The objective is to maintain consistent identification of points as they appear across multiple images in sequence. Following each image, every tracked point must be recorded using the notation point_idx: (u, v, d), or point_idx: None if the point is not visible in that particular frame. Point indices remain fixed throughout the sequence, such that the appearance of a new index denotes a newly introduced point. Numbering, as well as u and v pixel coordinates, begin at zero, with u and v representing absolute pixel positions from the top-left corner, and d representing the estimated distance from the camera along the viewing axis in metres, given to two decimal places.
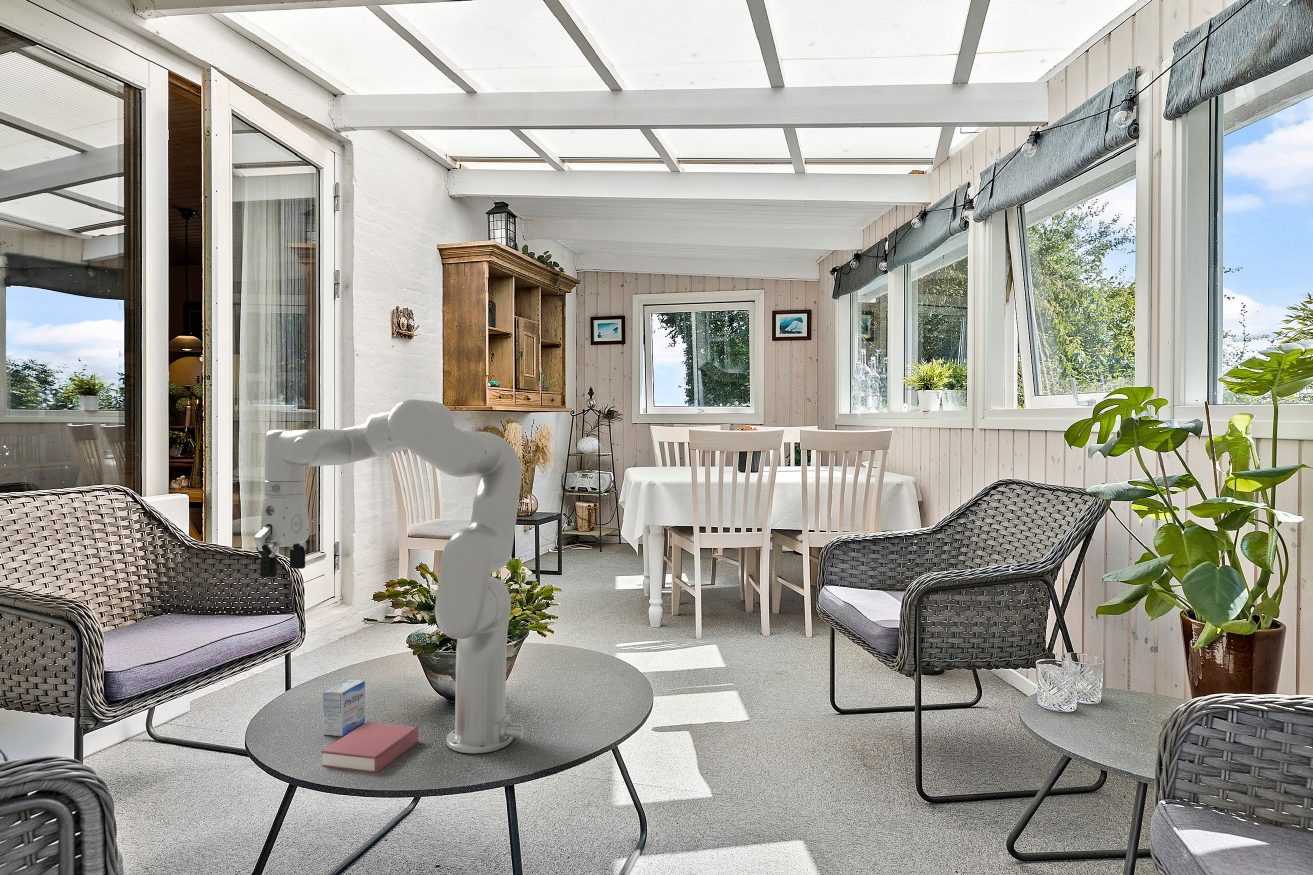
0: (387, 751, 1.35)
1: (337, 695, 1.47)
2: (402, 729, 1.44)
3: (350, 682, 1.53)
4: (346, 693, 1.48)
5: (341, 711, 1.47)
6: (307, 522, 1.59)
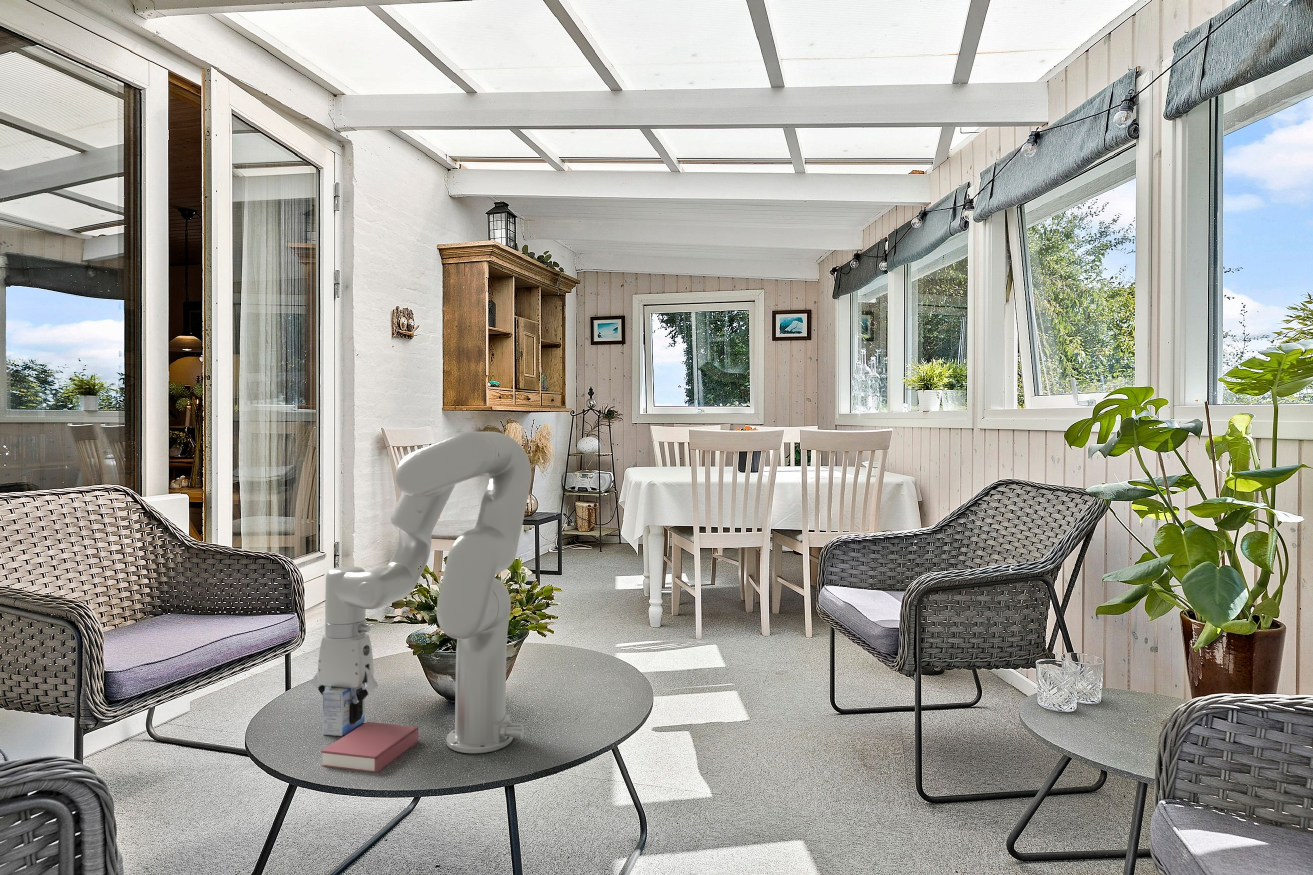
0: (387, 751, 1.35)
1: (337, 695, 1.47)
2: (402, 729, 1.44)
3: None
4: (346, 693, 1.48)
5: (341, 711, 1.47)
6: None
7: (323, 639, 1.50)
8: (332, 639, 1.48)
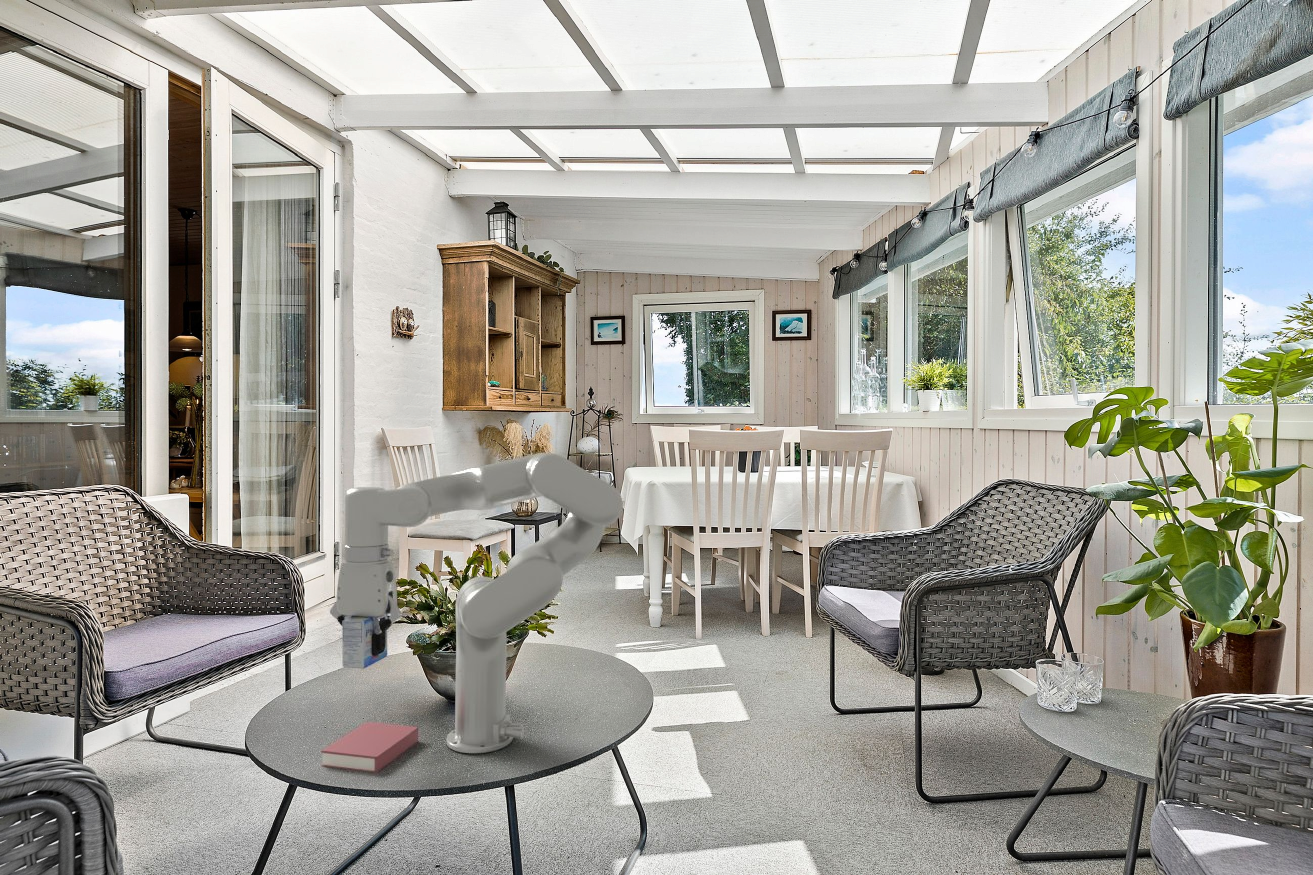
0: (387, 751, 1.35)
1: (358, 623, 1.35)
2: (402, 729, 1.44)
3: None
4: (368, 622, 1.36)
5: (363, 641, 1.35)
6: None
7: (342, 564, 1.38)
8: (352, 563, 1.35)
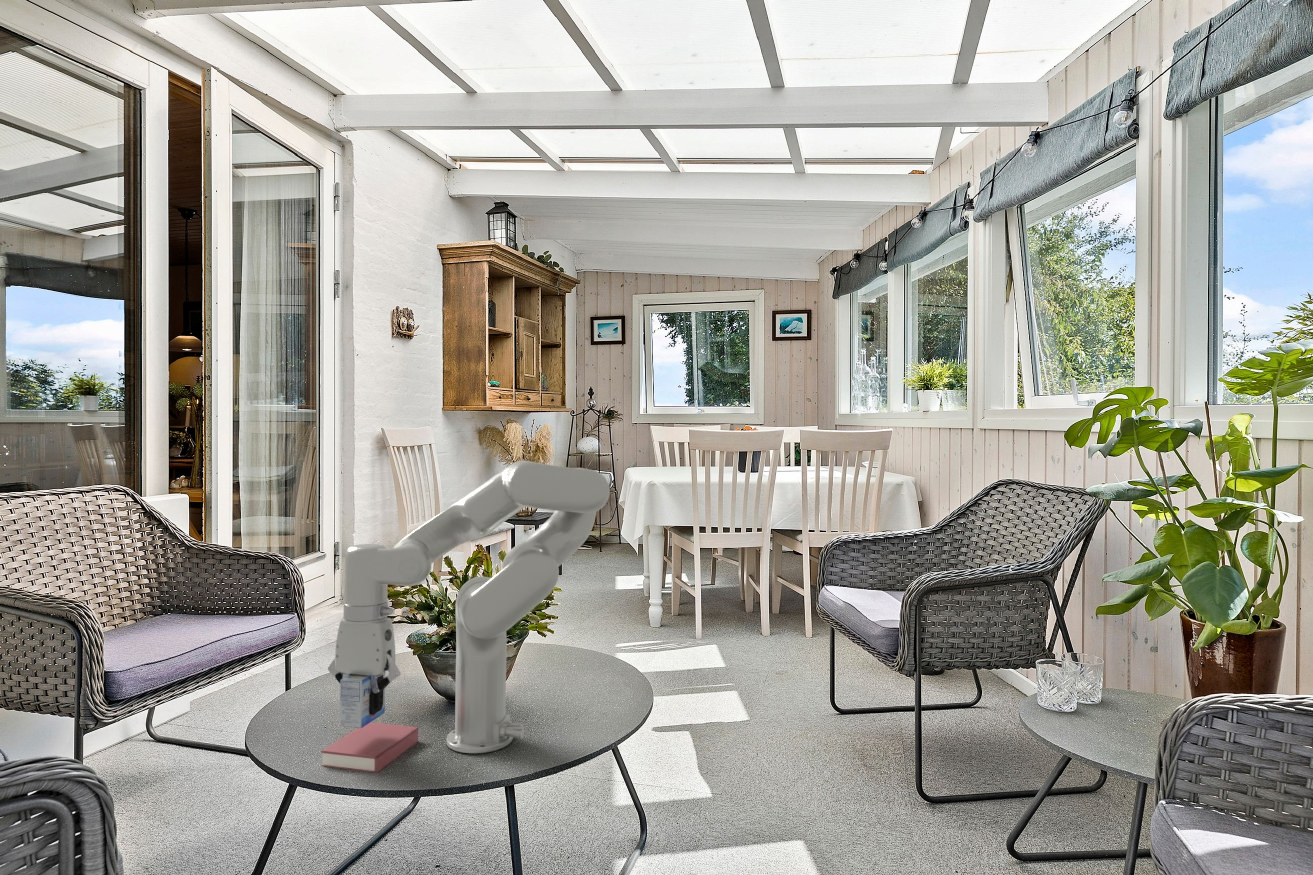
0: (387, 751, 1.35)
1: (356, 683, 1.35)
2: (402, 729, 1.44)
3: None
4: (366, 681, 1.36)
5: (360, 701, 1.35)
6: None
7: (341, 622, 1.38)
8: (351, 622, 1.35)
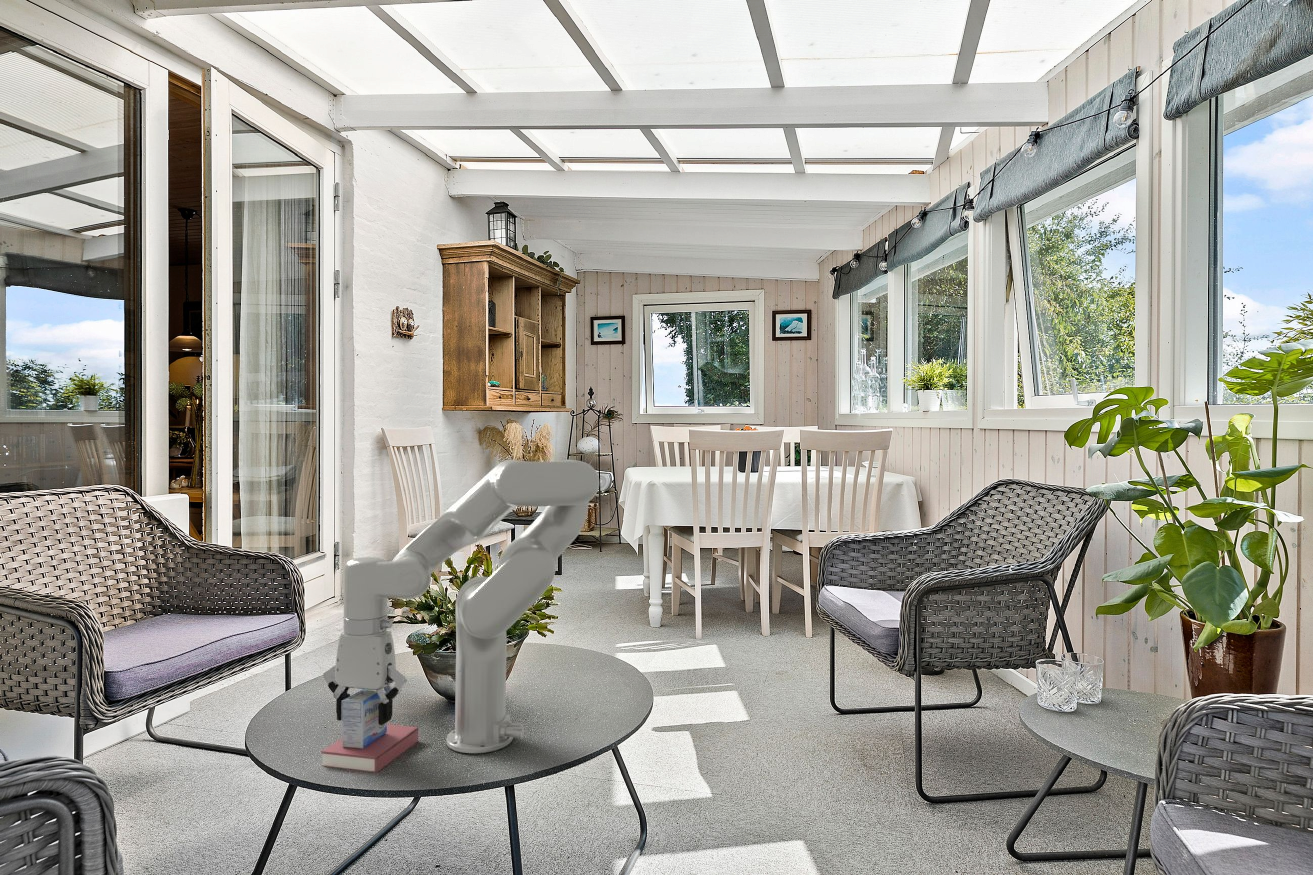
0: (387, 751, 1.35)
1: (357, 703, 1.35)
2: (402, 729, 1.44)
3: (370, 690, 1.41)
4: (367, 702, 1.36)
5: (362, 721, 1.35)
6: None
7: (341, 636, 1.38)
8: (351, 636, 1.35)
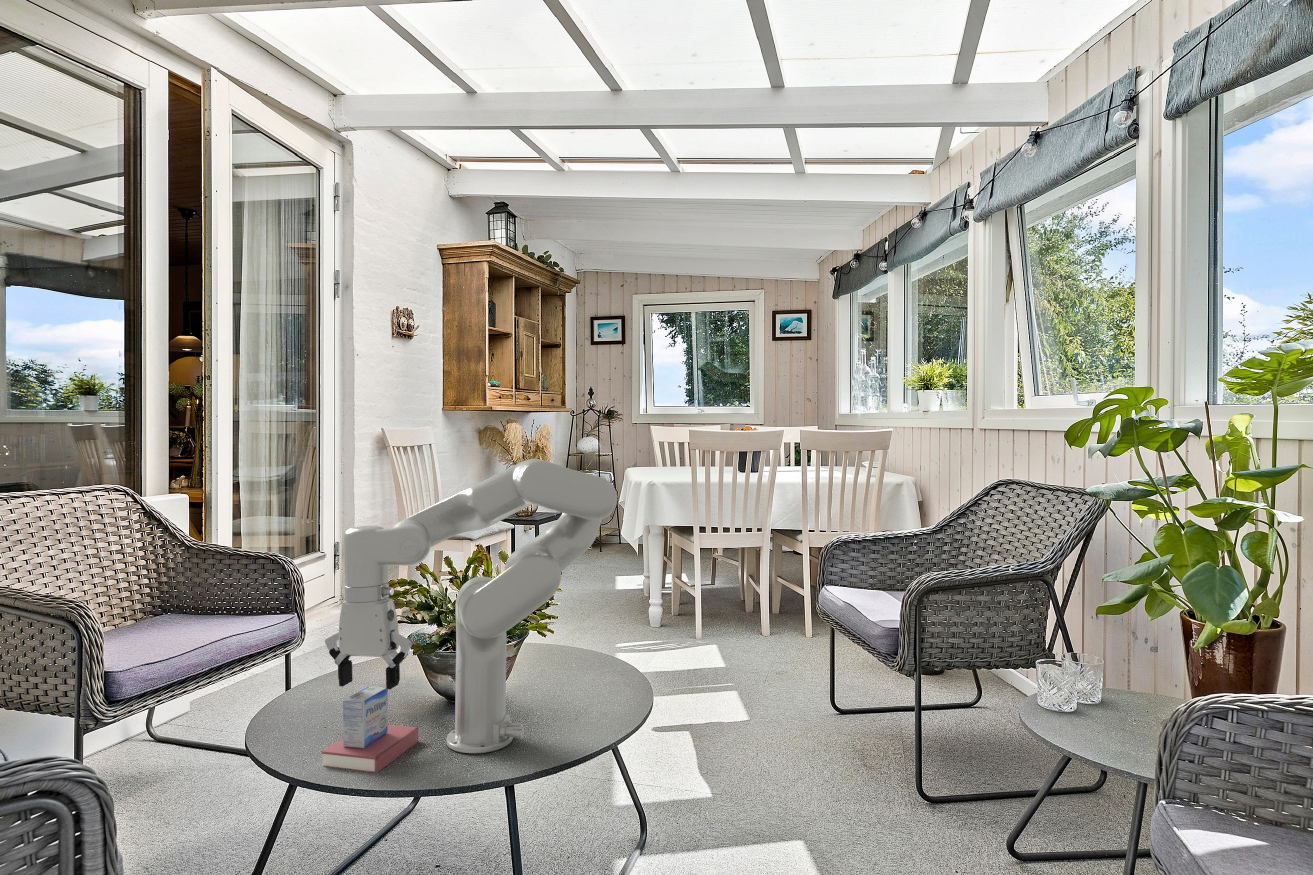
0: (387, 751, 1.35)
1: (358, 703, 1.35)
2: (402, 730, 1.44)
3: (371, 690, 1.41)
4: (368, 701, 1.36)
5: (363, 721, 1.35)
6: None
7: (343, 605, 1.38)
8: (353, 604, 1.35)
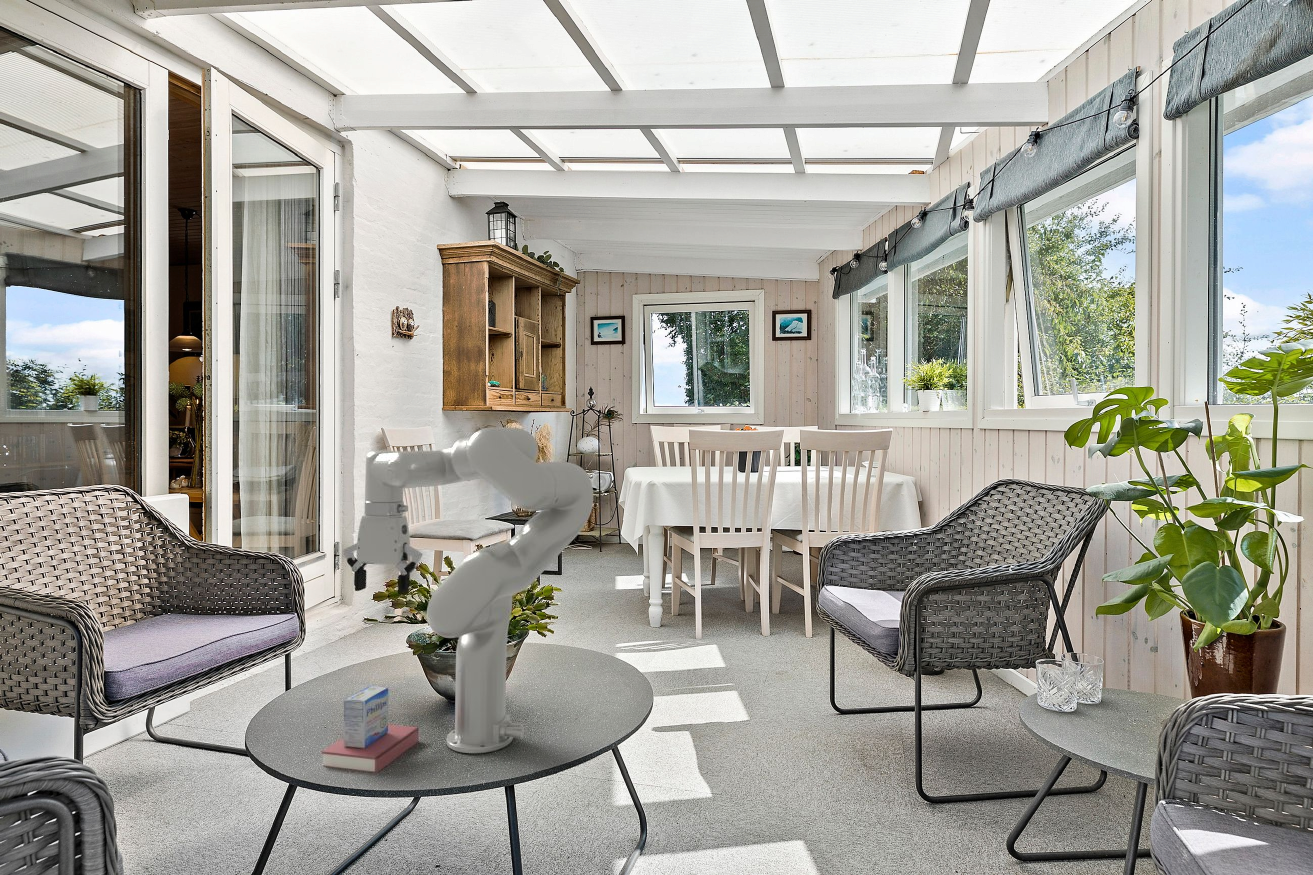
0: (387, 751, 1.35)
1: (359, 703, 1.35)
2: (402, 730, 1.44)
3: (372, 689, 1.41)
4: (369, 701, 1.36)
5: (363, 721, 1.35)
6: None
7: (363, 518, 1.56)
8: (372, 516, 1.54)
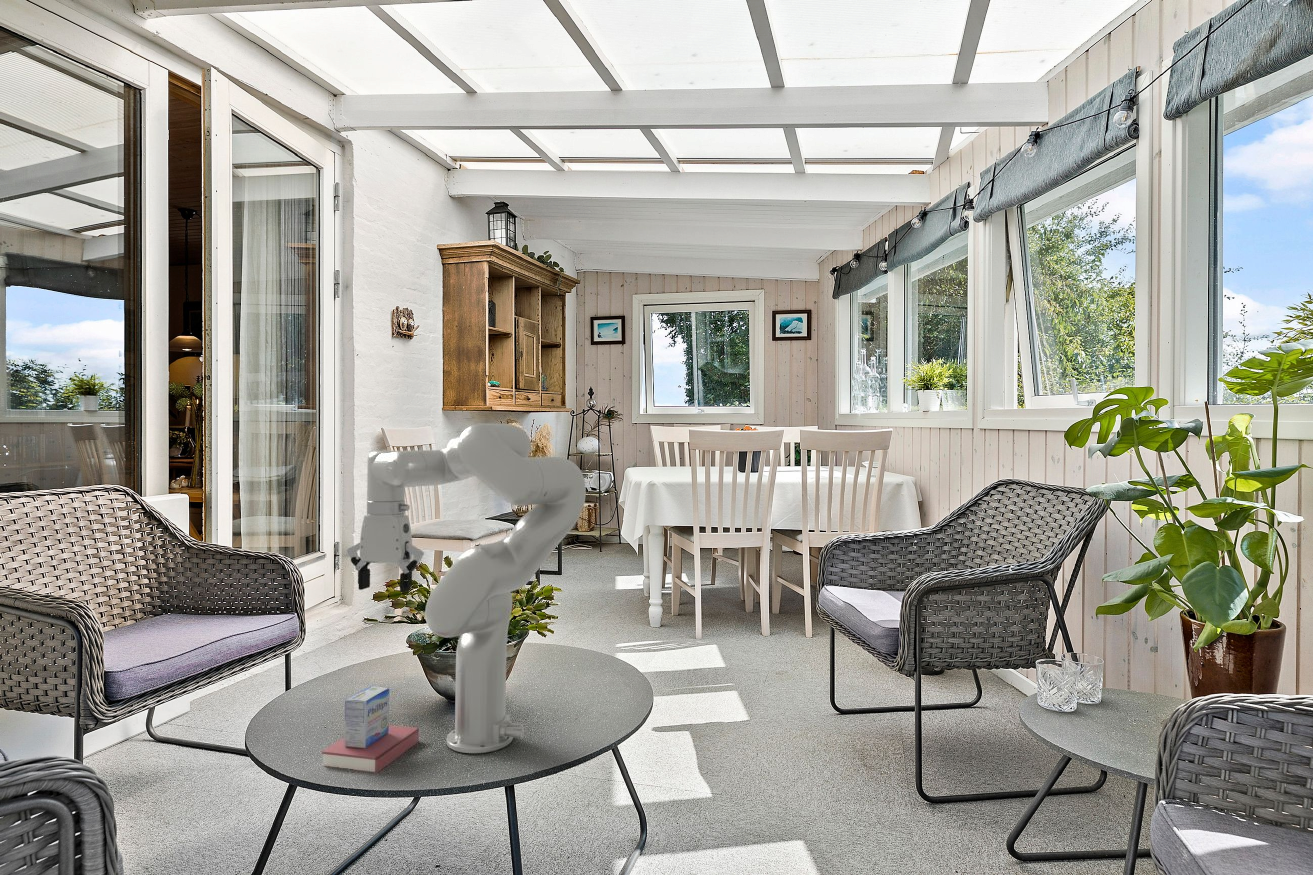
0: (387, 752, 1.35)
1: (360, 703, 1.35)
2: (402, 730, 1.44)
3: (373, 690, 1.41)
4: (370, 702, 1.37)
5: (365, 721, 1.35)
6: None
7: (365, 517, 1.58)
8: (374, 516, 1.56)
